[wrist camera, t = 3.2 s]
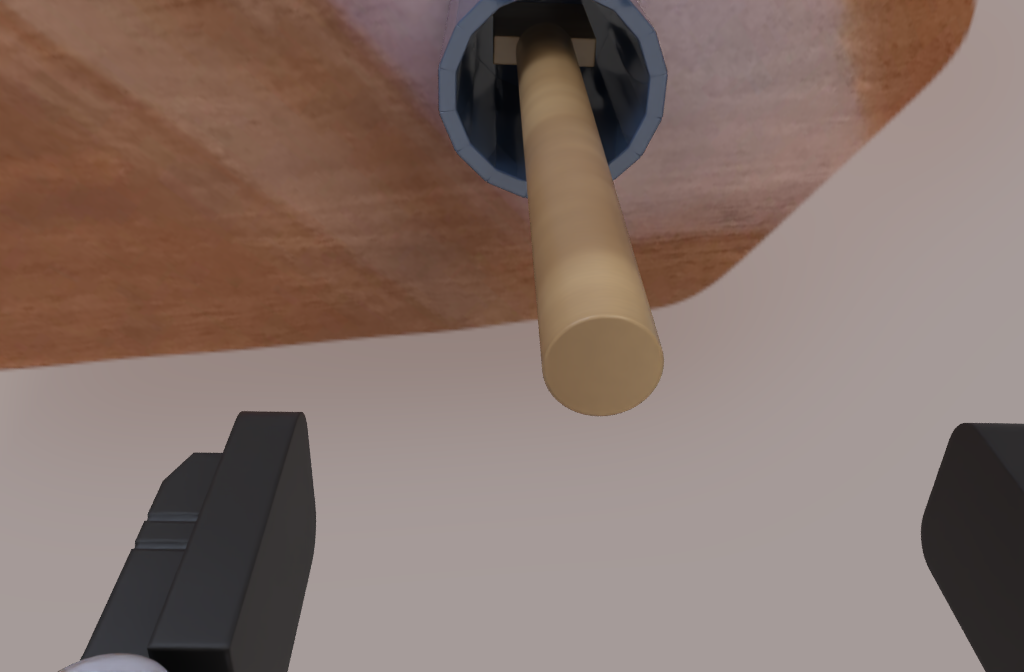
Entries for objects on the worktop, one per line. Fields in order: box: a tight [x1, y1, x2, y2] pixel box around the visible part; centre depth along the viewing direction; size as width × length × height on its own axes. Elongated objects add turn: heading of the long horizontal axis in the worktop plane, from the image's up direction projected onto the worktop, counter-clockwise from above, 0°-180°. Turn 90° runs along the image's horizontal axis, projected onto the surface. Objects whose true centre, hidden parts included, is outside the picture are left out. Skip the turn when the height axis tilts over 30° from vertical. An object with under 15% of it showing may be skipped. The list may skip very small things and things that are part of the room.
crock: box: [438, 0, 668, 198], centre depth 30 cm, size 6×6×10 cm
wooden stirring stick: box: [493, 2, 664, 416], centre depth 24 cm, size 3×2×23 cm, turn 88°
